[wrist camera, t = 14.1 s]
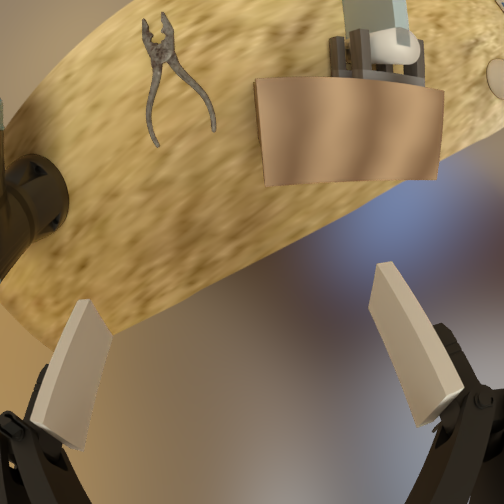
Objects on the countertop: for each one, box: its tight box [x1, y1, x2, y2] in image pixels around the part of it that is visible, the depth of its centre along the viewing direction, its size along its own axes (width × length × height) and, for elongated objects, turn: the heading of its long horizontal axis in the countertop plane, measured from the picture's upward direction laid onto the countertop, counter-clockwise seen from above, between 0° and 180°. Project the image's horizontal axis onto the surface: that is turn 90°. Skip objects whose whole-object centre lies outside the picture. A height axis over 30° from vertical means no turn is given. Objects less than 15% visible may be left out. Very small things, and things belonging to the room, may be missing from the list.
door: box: [342, 0, 420, 65], centre depth 22 cm, size 4×14×14 cm, turn 5°
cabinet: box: [253, 28, 444, 187], centre depth 27 cm, size 18×14×17 cm
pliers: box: [142, 12, 216, 148], centre depth 32 cm, size 10×1×20 cm
